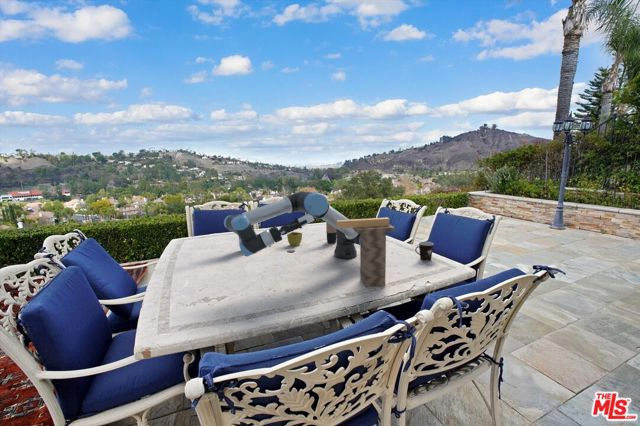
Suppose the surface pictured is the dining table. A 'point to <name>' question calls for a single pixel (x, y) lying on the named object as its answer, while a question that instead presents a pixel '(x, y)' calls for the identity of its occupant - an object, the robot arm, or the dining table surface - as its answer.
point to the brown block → (362, 223)
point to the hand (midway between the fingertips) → (311, 216)
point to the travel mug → (330, 234)
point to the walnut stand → (373, 254)
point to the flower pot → (294, 238)
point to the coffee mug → (425, 250)
